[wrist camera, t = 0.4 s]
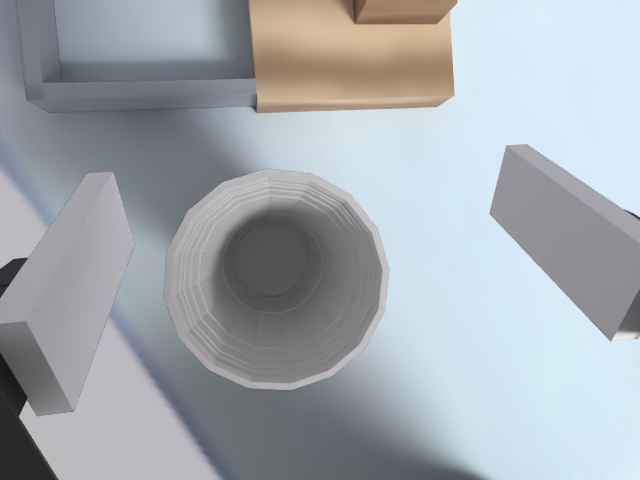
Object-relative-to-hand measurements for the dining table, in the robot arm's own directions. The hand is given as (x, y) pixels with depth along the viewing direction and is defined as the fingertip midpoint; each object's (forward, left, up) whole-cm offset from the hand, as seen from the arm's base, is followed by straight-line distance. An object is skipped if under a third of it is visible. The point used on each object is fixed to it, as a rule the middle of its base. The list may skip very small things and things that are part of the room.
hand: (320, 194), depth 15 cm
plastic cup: (-4, +1, -18) cm, 18 cm away
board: (+15, -6, -18) cm, 24 cm away
